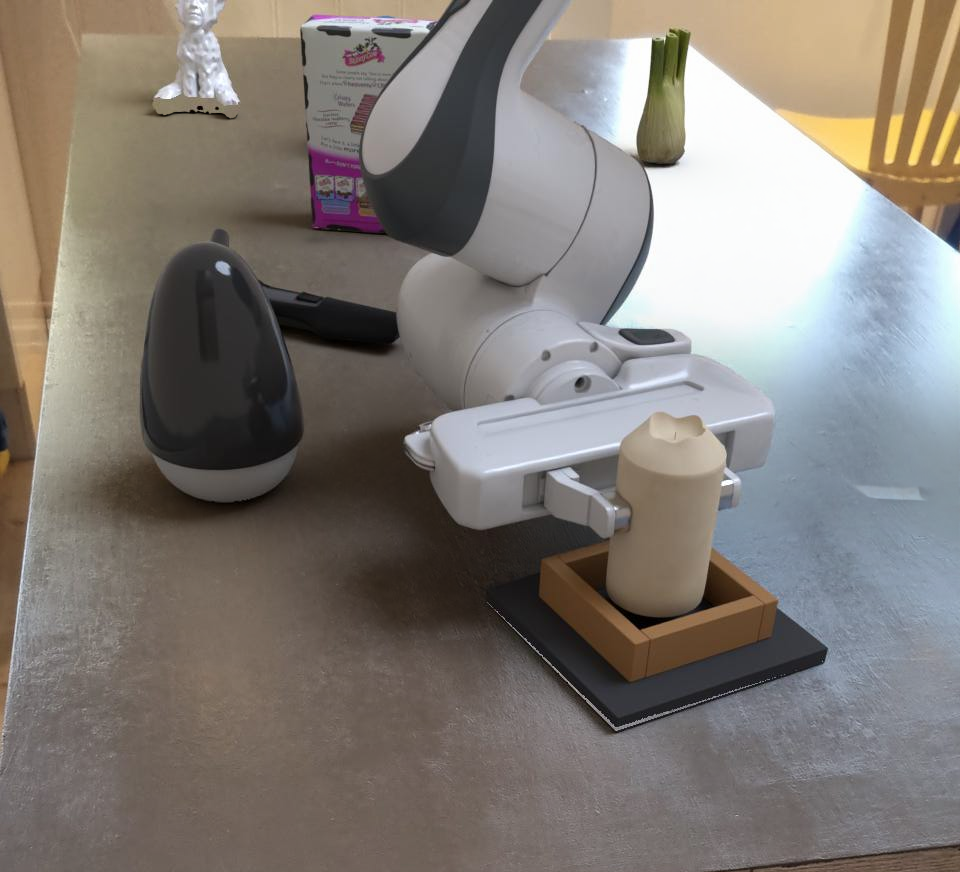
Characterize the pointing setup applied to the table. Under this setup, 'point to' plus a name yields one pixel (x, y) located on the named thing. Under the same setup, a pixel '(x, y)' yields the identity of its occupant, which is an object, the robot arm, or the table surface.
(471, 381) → the robot arm
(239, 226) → the table surface
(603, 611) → the dock
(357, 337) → the electric trimmer
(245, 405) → the grey white egg shape
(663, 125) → the fennel bulb
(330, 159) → the candy bar box
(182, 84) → the sitting furry creature
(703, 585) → the candle
